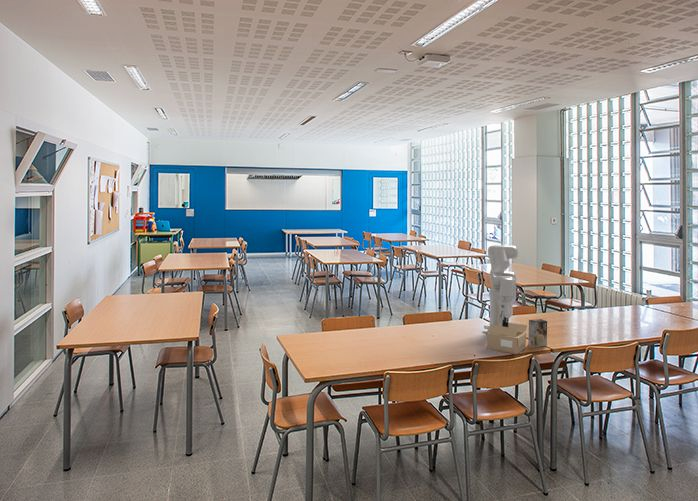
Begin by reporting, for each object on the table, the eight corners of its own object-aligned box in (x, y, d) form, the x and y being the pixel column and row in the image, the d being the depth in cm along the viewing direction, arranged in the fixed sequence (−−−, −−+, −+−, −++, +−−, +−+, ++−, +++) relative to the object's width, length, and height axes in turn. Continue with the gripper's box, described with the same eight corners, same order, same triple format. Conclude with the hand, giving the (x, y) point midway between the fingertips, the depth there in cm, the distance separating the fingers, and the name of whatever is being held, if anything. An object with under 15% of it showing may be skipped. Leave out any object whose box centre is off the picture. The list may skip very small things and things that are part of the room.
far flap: (501, 321, 318) (501, 321, 318) (498, 327, 315) (499, 327, 316) (527, 325, 308) (527, 325, 308) (524, 331, 305) (525, 331, 305)
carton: (486, 348, 304) (486, 332, 303) (496, 342, 317) (496, 327, 316) (517, 354, 293) (517, 337, 292) (526, 348, 305) (526, 332, 304)
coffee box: (540, 343, 315) (541, 318, 314) (546, 346, 309) (547, 321, 307) (527, 344, 313) (528, 319, 311) (534, 347, 307) (535, 322, 305)
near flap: (517, 329, 294) (517, 328, 294) (515, 336, 292) (515, 336, 292) (490, 324, 304) (490, 324, 304) (488, 332, 302) (488, 332, 302)
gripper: (507, 301, 291) (506, 331, 293) (516, 297, 303) (515, 326, 305) (495, 299, 296) (494, 329, 297) (504, 295, 307) (503, 325, 309)
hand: (505, 328), depth 301 cm, fingers closed
